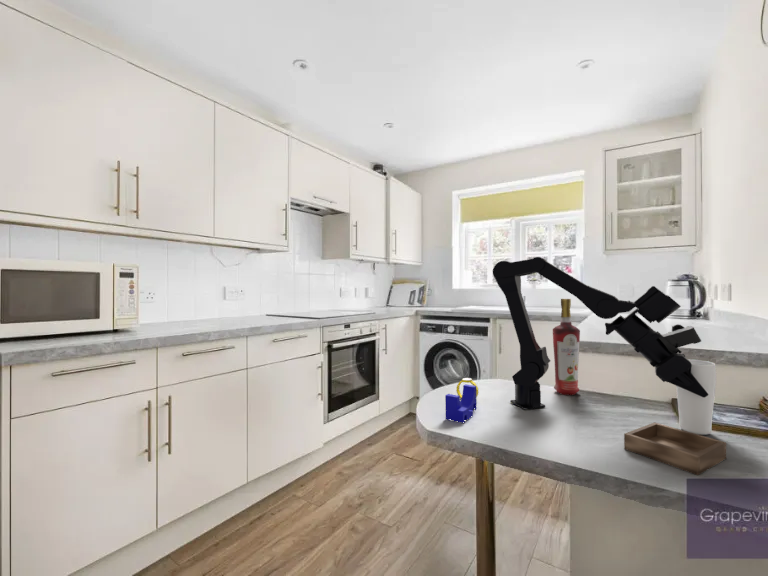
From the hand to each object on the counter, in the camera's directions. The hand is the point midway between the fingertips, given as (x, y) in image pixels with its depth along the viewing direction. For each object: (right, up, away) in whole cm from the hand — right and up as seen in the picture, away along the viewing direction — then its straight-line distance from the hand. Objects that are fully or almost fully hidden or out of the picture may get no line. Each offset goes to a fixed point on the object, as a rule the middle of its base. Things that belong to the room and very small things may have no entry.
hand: (703, 392), depth 79 cm
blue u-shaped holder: (-48, -10, +13) cm, 51 cm away
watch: (-45, -9, +25) cm, 52 cm away
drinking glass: (-1, -9, +1) cm, 9 cm away
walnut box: (-14, -9, -9) cm, 19 cm away
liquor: (-14, -9, +30) cm, 35 cm away
